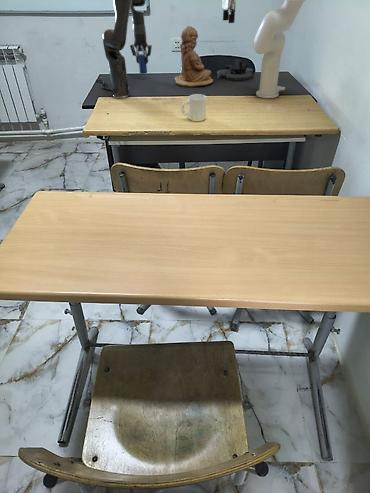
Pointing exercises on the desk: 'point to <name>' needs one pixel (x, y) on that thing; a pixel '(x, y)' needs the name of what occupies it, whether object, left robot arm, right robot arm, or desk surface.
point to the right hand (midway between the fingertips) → (228, 21)
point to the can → (142, 64)
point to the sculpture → (191, 62)
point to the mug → (195, 107)
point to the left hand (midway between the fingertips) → (142, 63)
